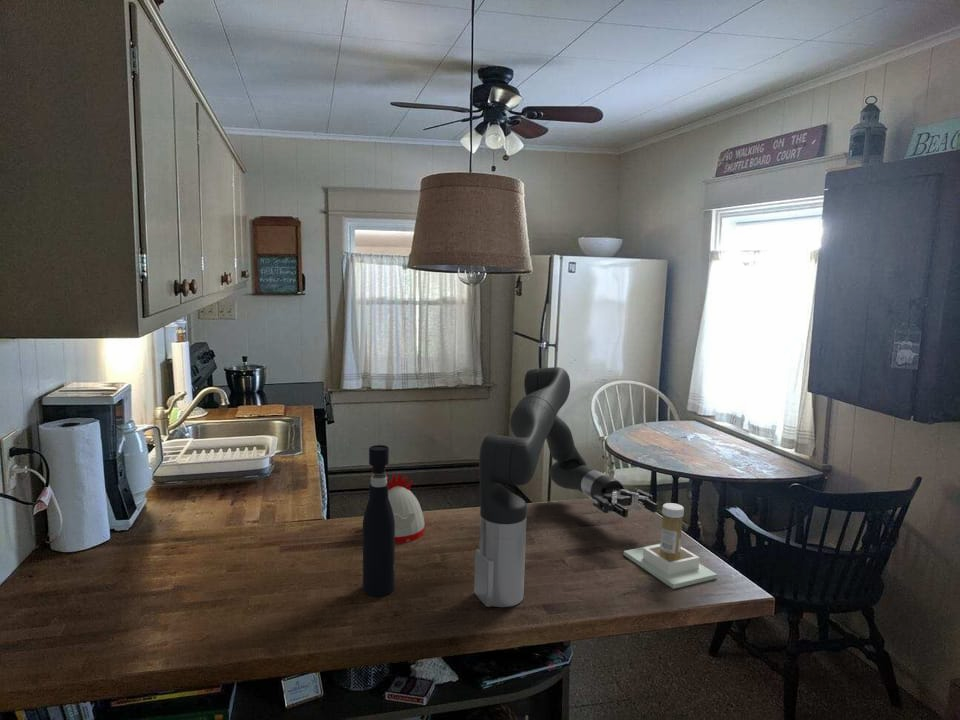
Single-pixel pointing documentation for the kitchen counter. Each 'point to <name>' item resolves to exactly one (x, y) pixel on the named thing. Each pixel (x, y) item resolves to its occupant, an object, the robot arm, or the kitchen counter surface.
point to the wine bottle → (378, 530)
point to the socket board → (671, 566)
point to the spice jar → (671, 531)
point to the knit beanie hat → (405, 510)
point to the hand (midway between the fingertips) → (641, 511)
